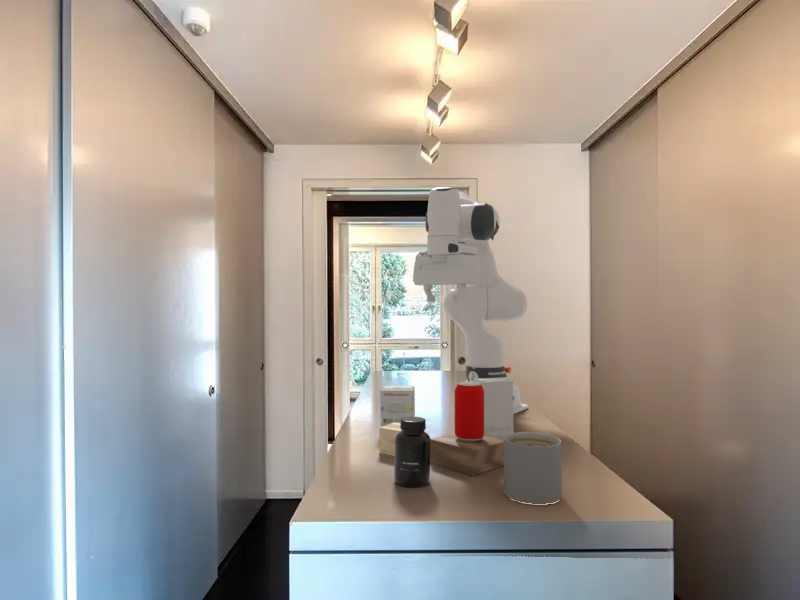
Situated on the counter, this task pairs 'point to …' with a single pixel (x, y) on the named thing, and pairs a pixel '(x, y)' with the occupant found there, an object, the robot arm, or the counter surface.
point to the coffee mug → (533, 467)
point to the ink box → (396, 403)
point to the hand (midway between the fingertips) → (444, 302)
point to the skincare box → (498, 406)
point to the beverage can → (469, 411)
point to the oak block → (388, 438)
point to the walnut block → (467, 453)
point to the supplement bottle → (412, 453)
